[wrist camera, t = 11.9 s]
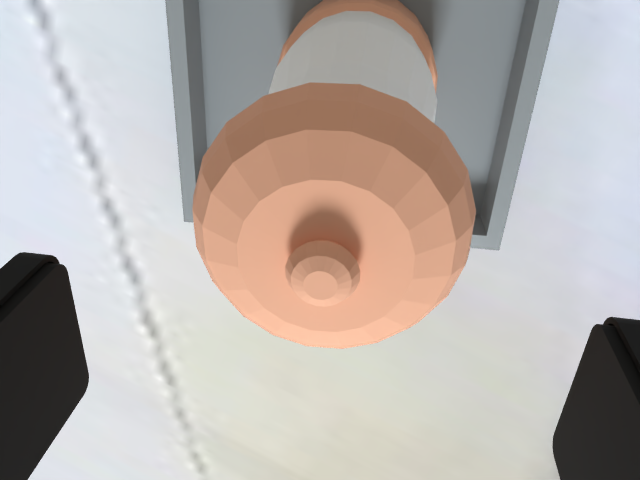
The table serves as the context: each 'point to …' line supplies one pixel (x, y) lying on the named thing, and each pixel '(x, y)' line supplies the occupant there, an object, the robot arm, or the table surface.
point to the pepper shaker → (338, 185)
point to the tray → (452, 88)
